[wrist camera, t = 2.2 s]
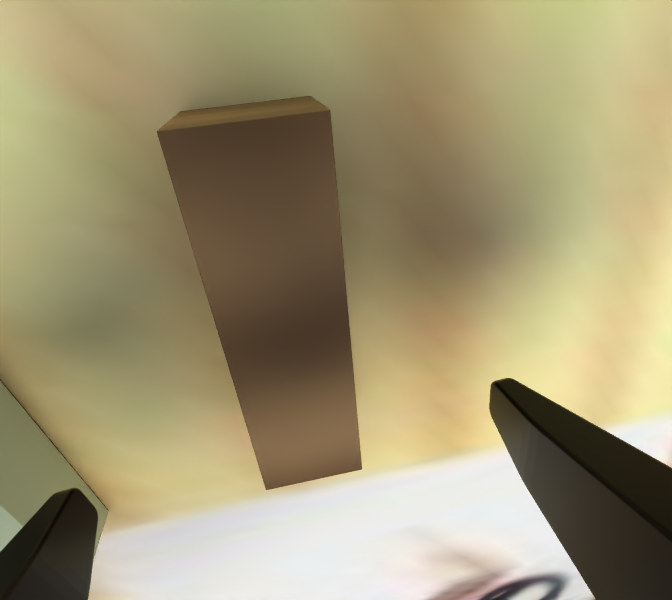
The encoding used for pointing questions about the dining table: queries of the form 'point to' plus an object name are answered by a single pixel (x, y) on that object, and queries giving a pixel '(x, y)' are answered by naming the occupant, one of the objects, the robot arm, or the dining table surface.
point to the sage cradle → (31, 471)
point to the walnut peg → (273, 275)
